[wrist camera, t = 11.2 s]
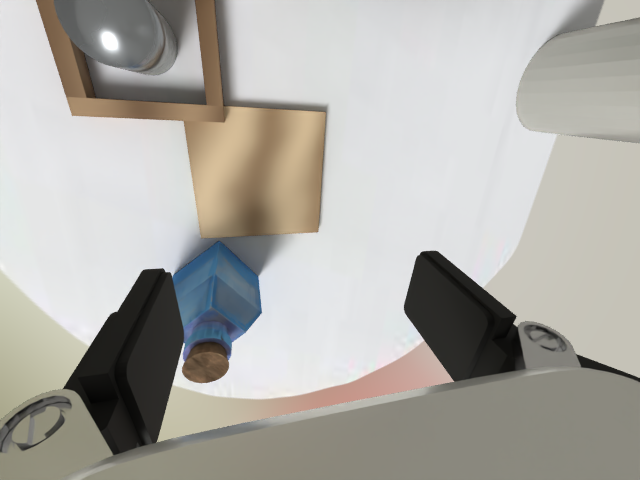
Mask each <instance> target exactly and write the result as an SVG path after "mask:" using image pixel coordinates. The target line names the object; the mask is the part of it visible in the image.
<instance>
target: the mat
mask: <svg viewBox="0 0 640 480" xmlns="http://www.w3.org/2000/svg"><path fill="white" fill-rule="evenodd" d="M182 104H185V103H182ZM198 105H201V104H198ZM224 118H225V122H224V123H222V122H200V121H184V127H185V133H186V140H187V147H188V153H189V160H190V167H191V173H192V180H193V187H194V194H195V200H196V207H197V214H198V220H199V227H200V234H201V238H219V237H238V236H256V235H274V234H293V233H311V232H318V228H319V212H320V196H321V181H322V165H323V149H324V133H325V118H326V112H317V111H300V110H284V109H267V108H251V107H234V106H224Z"/></svg>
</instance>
